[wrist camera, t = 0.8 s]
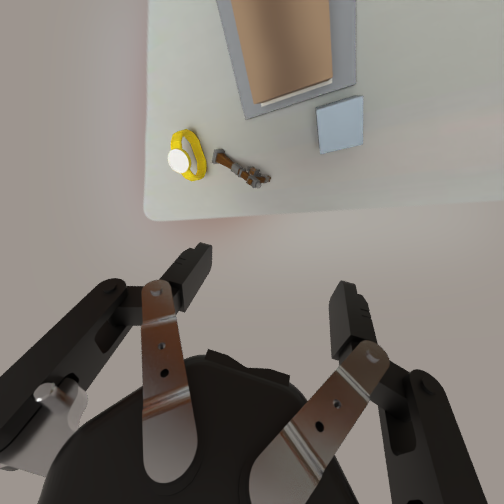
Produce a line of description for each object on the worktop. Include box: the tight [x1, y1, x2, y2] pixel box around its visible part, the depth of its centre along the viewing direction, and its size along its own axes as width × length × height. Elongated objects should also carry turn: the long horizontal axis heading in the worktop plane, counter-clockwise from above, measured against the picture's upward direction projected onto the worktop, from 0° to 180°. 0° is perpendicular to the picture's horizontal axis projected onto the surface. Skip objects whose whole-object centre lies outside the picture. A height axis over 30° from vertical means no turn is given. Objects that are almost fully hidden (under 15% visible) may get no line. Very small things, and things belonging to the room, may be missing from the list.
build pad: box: [216, 0, 356, 120], centre depth 20 cm, size 12×12×1 cm
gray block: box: [316, 96, 363, 154], centre depth 22 cm, size 4×4×5 cm
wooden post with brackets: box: [212, 149, 271, 188], centre depth 29 cm, size 2×8×4 cm, turn 70°
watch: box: [168, 129, 207, 181], centre depth 28 cm, size 6×3×6 cm, turn 14°
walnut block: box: [231, 0, 333, 104], centre depth 18 cm, size 7×10×5 cm
